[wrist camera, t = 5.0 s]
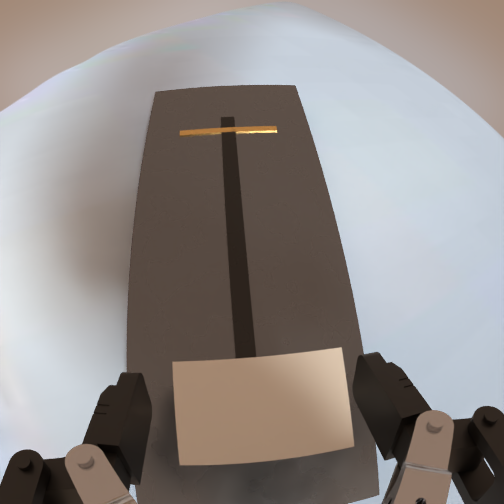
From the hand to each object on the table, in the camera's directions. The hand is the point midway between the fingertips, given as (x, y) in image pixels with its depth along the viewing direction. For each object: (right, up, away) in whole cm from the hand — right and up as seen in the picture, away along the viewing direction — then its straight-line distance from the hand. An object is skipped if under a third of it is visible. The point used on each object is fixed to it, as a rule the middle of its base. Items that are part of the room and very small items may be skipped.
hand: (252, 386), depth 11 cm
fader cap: (0, -2, +3) cm, 3 cm away
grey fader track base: (-1, +5, +9) cm, 10 cm away
